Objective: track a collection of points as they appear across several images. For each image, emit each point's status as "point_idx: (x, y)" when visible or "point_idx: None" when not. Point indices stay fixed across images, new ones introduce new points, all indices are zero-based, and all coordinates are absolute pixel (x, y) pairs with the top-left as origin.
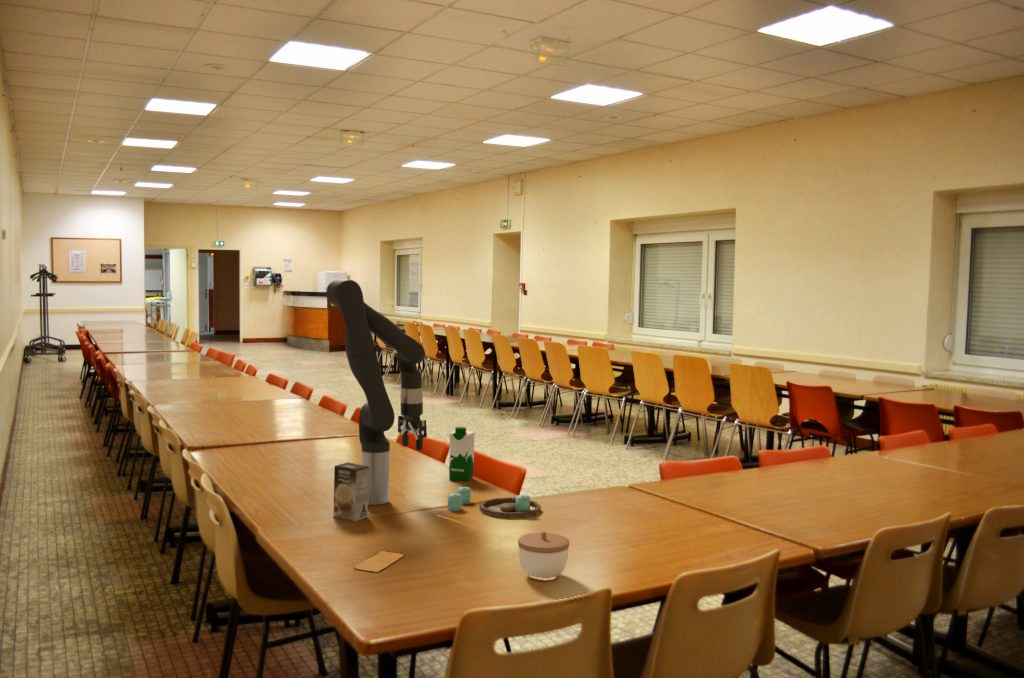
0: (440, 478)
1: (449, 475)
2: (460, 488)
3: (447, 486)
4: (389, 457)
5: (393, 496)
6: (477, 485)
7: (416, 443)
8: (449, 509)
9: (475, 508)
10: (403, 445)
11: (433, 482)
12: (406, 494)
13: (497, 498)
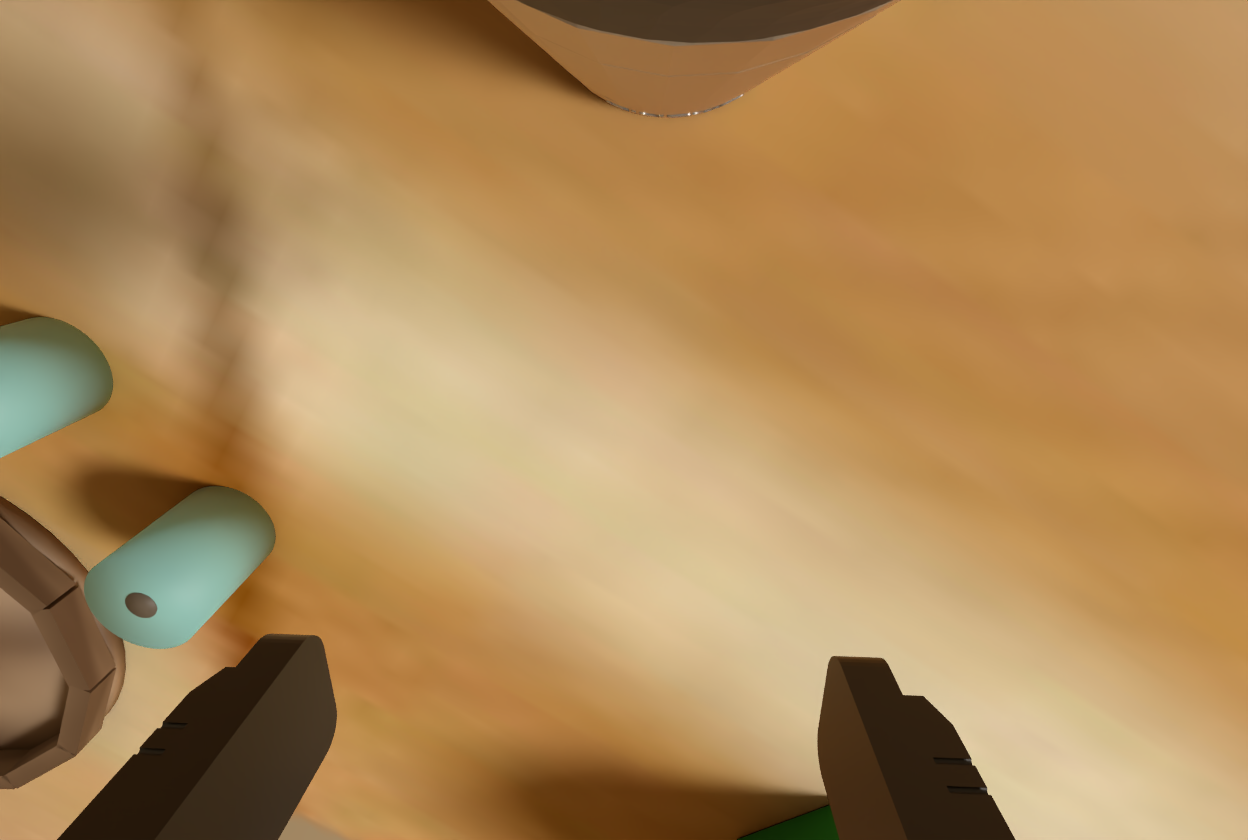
0: None
1: None
2: (151, 585)
3: (727, 714)
4: (502, 9)
5: (734, 247)
6: (631, 835)
7: (184, 754)
8: (7, 325)
9: (112, 531)
10: (838, 666)
11: None
12: (721, 377)
13: (77, 692)
